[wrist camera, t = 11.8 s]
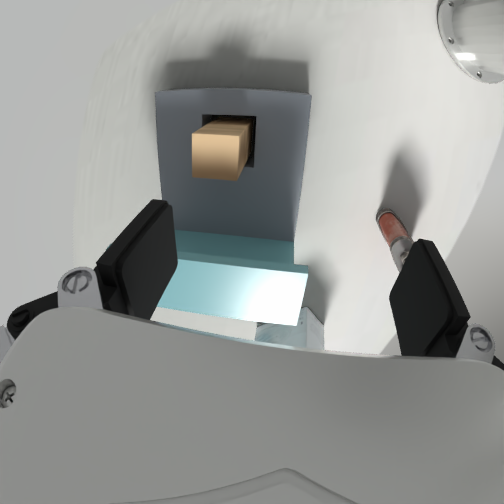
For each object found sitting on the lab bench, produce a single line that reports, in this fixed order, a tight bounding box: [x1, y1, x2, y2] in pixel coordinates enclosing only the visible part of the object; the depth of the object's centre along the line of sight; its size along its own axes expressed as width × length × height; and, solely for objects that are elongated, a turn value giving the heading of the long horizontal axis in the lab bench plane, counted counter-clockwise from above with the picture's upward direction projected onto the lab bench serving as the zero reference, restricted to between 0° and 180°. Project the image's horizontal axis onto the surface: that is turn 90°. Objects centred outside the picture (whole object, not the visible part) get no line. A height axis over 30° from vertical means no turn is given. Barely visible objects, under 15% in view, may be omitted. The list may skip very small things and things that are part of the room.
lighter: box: [376, 208, 414, 272], centre depth 31 cm, size 8×3×10 cm, turn 43°
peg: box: [192, 117, 254, 181], centre depth 27 cm, size 4×4×10 cm
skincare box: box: [255, 307, 324, 350], centre depth 44 cm, size 10×6×10 cm, turn 128°
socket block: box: [106, 88, 312, 326], centre depth 26 cm, size 18×17×16 cm
